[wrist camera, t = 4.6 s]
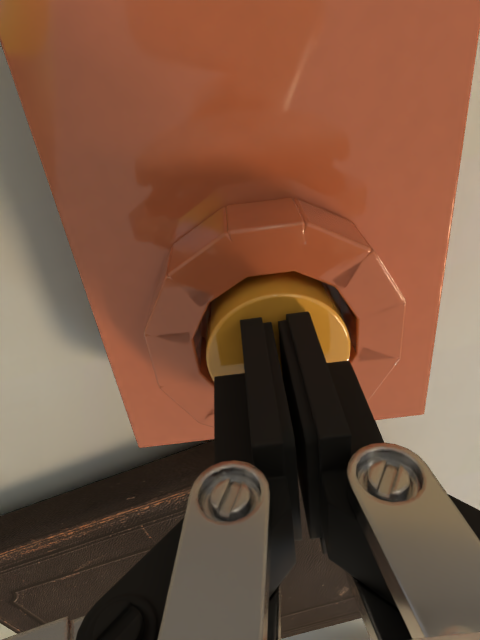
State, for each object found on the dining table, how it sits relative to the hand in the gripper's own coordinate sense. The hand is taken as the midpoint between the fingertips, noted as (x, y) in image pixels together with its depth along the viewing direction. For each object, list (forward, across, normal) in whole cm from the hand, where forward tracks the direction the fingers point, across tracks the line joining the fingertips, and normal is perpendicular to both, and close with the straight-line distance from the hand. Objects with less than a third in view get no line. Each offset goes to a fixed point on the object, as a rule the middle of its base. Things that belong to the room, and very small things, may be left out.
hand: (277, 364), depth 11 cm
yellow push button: (+2, 0, 0) cm, 2 cm away
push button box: (+6, 0, -2) cm, 7 cm away
